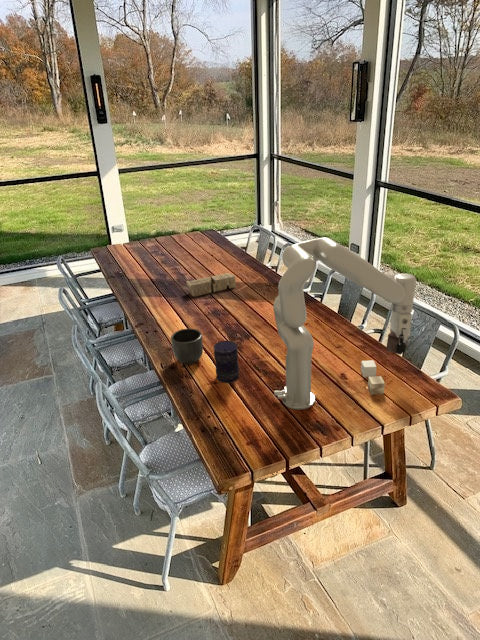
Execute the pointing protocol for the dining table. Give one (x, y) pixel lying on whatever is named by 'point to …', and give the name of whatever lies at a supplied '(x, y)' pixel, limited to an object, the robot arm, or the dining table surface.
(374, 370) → the grey block
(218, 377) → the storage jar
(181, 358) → the planter
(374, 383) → the birch block
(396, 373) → the dining table surface
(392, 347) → the box
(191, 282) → the tan double block
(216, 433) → the dining table surface
